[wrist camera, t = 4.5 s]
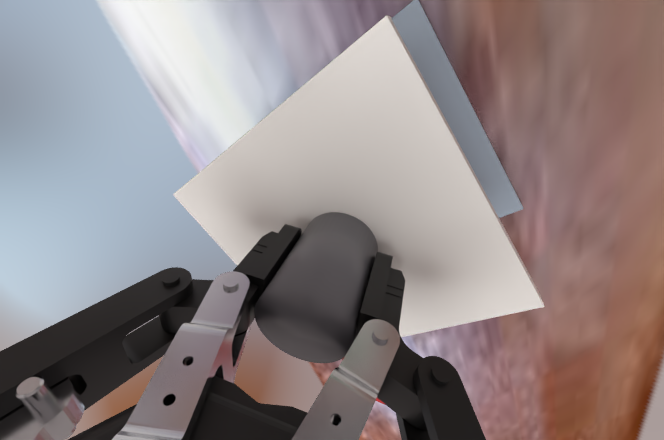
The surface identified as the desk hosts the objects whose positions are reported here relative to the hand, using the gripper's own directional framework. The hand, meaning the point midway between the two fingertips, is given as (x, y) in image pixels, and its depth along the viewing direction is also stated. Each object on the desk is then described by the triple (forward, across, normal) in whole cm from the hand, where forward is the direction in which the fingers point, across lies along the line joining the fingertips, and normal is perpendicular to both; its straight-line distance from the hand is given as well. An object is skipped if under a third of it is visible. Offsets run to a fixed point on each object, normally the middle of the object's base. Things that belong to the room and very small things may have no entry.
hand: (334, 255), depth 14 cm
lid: (+2, 0, 0) cm, 2 cm away
